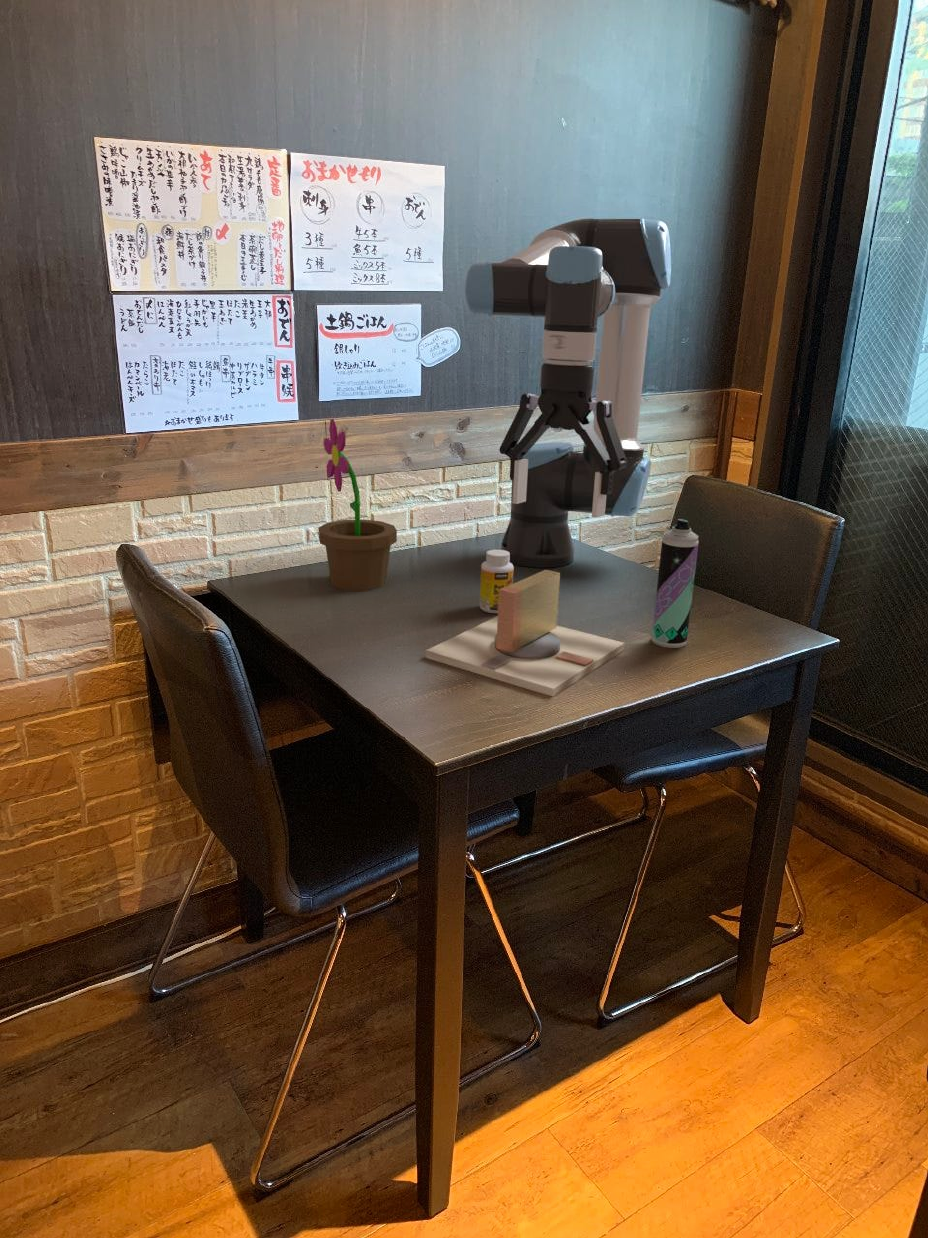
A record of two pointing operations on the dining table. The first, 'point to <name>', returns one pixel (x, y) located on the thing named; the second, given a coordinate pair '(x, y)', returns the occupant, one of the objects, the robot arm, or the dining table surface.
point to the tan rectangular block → (527, 610)
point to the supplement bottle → (494, 578)
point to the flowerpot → (354, 533)
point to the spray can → (675, 586)
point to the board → (528, 657)
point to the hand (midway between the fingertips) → (557, 509)
